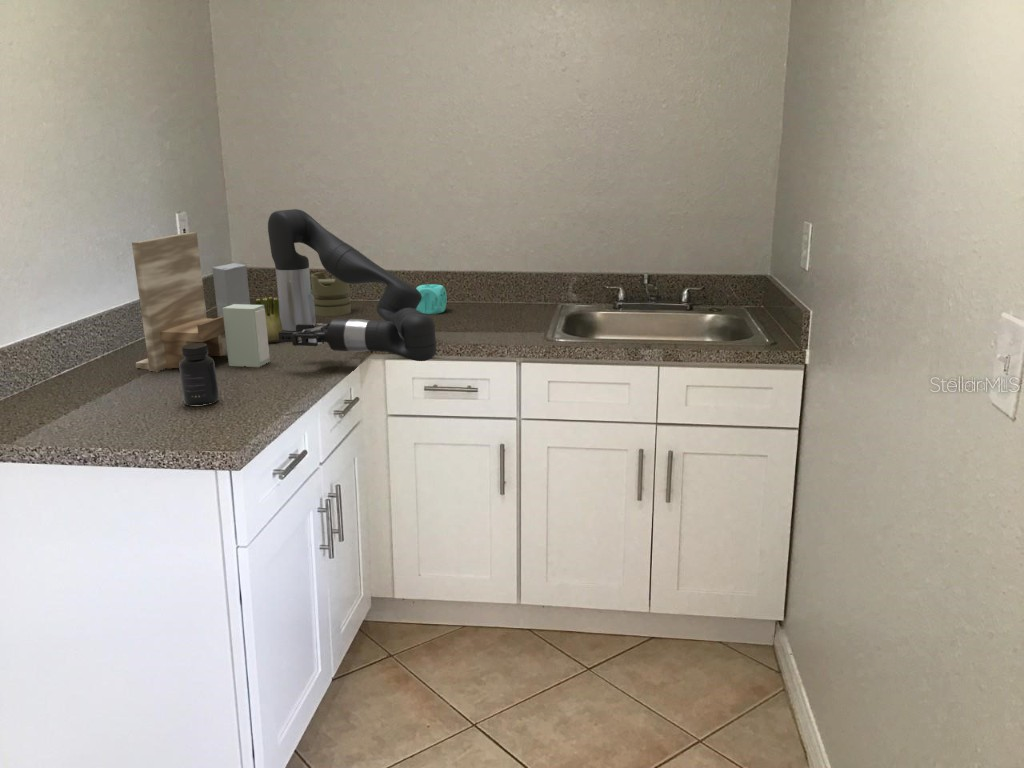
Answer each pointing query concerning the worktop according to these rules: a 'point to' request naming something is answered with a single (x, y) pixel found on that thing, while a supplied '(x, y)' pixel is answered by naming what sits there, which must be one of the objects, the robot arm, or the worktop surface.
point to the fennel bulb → (272, 319)
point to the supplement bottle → (198, 375)
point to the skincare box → (230, 286)
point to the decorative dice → (432, 299)
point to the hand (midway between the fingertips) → (288, 332)
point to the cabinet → (246, 335)
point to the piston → (330, 296)
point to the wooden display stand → (173, 300)
